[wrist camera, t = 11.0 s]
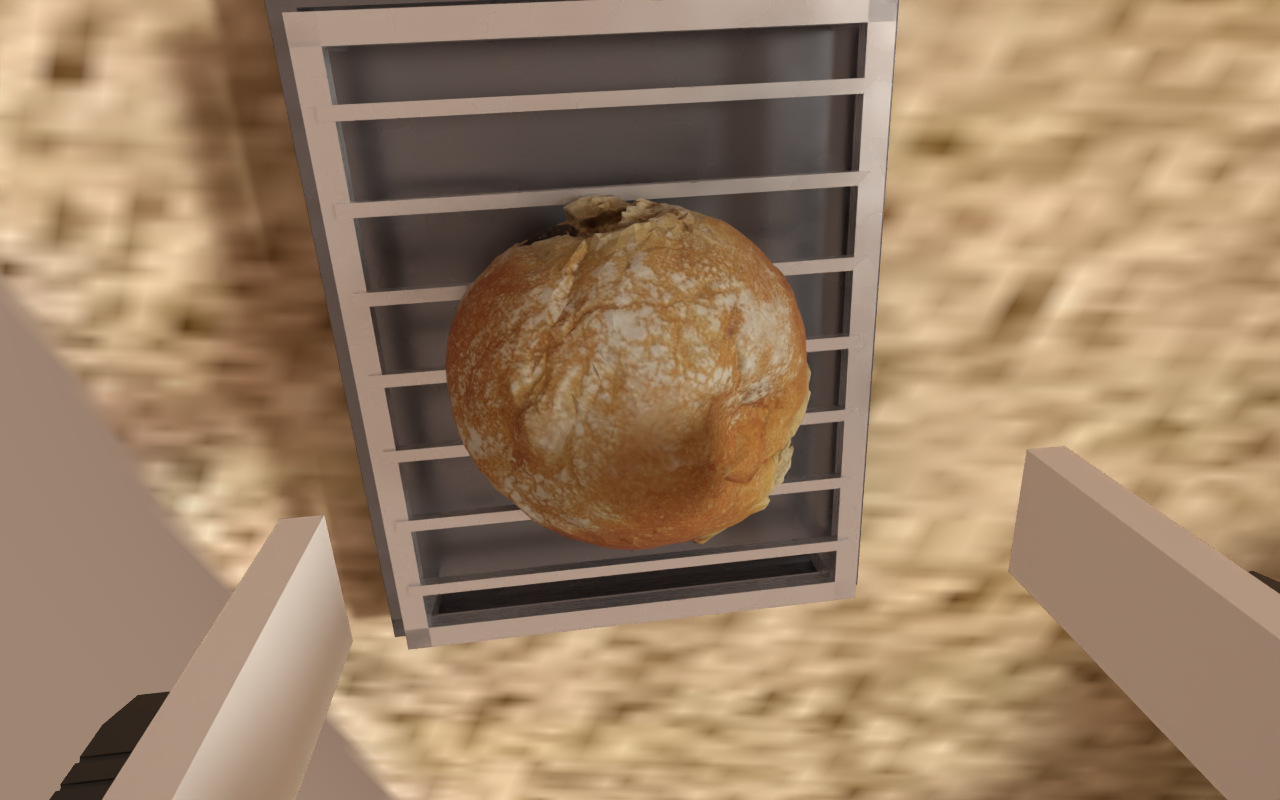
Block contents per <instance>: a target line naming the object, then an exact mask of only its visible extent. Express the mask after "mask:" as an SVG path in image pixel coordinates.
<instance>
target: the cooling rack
mask: <svg viewBox="0 0 1280 800" xmlns="http://www.w3.org/2000/svg"><path fill="white" fill-rule="evenodd" d="M264 1H265V6H266V10H267V15H268V20H269V25H270V30H271V35H272V40H273V45H274V49H275V54H276V59H277V64H278V69H279V74H280V79H281V84H282V88H283V93H284V98H285V103H286V108H287V113H288V118H289V123H290V127H291V132H292V137H293V142H294V147H295V152H296V157H297V162H298V166H299V171H300V176H301V181H302V186H303V191H304V196H305V200H306V205H307V210H308V215H309V220H310V225H311V230H312V235H313V239H314V244H315V249H316V254H317V259H318V264H319V269H320V274H321V278H322V283H323V288H324V293H325V298H326V303H327V308H328V313H329V317H330V322H331V327H332V332H333V337H334V342H335V347H336V351H337V356H338V361H339V366H340V371H341V376H342V381H343V386H344V390H345V395H346V400H347V405H348V410H349V415H350V420H351V425H352V429H353V434H354V439H355V444H356V449H357V454H358V459H359V464H360V468H361V473H362V478H363V483H364V488H365V493H366V498H367V502H368V507H369V512H370V517H371V522H372V527H373V532H374V537H375V541H376V546H377V551H378V556H379V561H380V566H381V571H382V576H383V580H384V585H385V590H386V595H387V600H388V605H389V610H390V615H391V619H392V624H393V629H394V634H395V637H400V636H406V639H407V644H408V649H417V648H426V647H434V646H443V645H452V644H460V643H469V642H478V641H486V640H495V639H504V638H512V637H521V636H530V635H538V634H547V633H555V632H564V631H573V630H581V629H590V628H599V627H607V626H616V625H625V624H633V623H642V622H651V621H659V620H668V619H677V618H685V617H694V616H703V615H711V614H720V613H729V612H737V611H746V610H755V609H763V608H772V607H781V606H789V605H798V604H807V603H815V602H824V601H833V600H841V599H850V598H855V592H856V584H857V578H858V564H859V550H860V536H861V523H862V509H863V495H864V481H865V467H866V453H867V439H868V425H869V411H870V397H871V383H872V369H873V356H874V342H875V328H876V314H877V300H878V286H879V272H880V258H881V244H882V230H883V216H884V202H885V188H886V175H887V161H888V147H889V133H890V119H891V105H892V91H893V77H894V63H895V49H896V35H897V21H898V8H899V0H264ZM591 195H597V196H606V195H614V196H619V197H621V198H623V199H624V200H625V201H626V202H627V203H630V204H632V203H633V202H635V200H636V199H637V198H642V199H645V200H649V201H652V202H655V203H658V204H659V203H663V204H664V203H666V204H668V205H677V206H681V207H683V208H685V209H687V210H690V211H696V212H698V213H701V214H703V215H706V216H710V217H713V218H717V219H720V220H722V221H724V222H726V223H728V224H729V225H731V226H732V227H734V228H735V229H737V230H738V231H739V232H741V233H742V234H743V235H744V236H746V237H747V238H748V239H749V240H751V241H752V242H753V243H754V244H755V245H756V246H757V247H759V248H760V250H761V251H762V252H763V253H764V254H765V255H766V256H767V258H768V259H769V260H770V261H771V262H772V264H773V265H774V266H776V267H777V268H778V269H779V270H780V271H781V272H782V273H783V274H784V276H785V278H786V280H787V282H788V283H789V285H790V287H791V289H792V291H793V292H794V296H795V300H796V303H797V306H798V309H799V312H800V314H801V317H802V320H803V323H804V326H805V333H806V352H807V363H808V366H809V369H810V371H811V377H810V381H809V391H810V392H811V394H810V398H809V401H808V405H807V409H806V412H805V415H804V417H803V420H802V422H801V424H800V426H799V428H798V430H797V431H796V433H795V435H794V436H793V437H792V438H791V443H790V445H791V444H792V446H793V448H794V449H793V454H792V457H791V466H790V469H789V470H788V471H787V473H786V475H785V476H784V481H783V482H782V483H781V484H780V485H779V486H778V487H777V488H776V489H775V490H774V491H773V492H771V493H770V494H769V496H768V497H769V499H770V502H769V504H768V505H767V507H766V508H765V509H763V510H761V511H758V512H756V513H753V514H751V515H749V516H748V517H747V518H745V519H744V520H743V521H741V522H740V523H737V524H735V525H733V526H731V527H728V528H726V529H725V530H723V531H722V532H720V533H718V534H717V535H715V536H713V537H712V538H710V539H709V540H708V541H706V542H705V543H704V544H701V543H694V542H692V541H687V542H684V543H681V542H679V543H674V544H669V545H664V546H660V547H656V548H652V549H640V550H634V551H633V552H631V550H619V549H611V548H605V547H601V546H597V545H594V544H590V543H586V542H582V541H578V540H575V539H570V538H566V537H564V536H562V535H560V534H559V533H557V532H555V531H552V530H549V529H547V528H544V527H543V526H541V525H539V524H537V523H536V522H534V521H532V520H531V519H530V518H529V517H528V516H527V515H526V514H525V513H524V512H523V511H522V510H521V509H520V508H519V507H517V506H516V505H515V504H514V503H513V502H512V501H511V500H509V499H508V498H507V497H506V496H504V495H503V494H501V493H500V492H498V491H497V490H496V489H495V488H494V487H493V485H492V484H491V482H490V481H489V480H488V479H487V477H486V476H485V475H484V474H482V473H481V472H480V471H479V469H478V468H477V466H476V464H475V463H474V461H473V460H472V458H471V457H470V455H469V453H468V451H467V450H466V448H465V446H464V444H463V442H462V440H461V438H460V436H459V434H458V431H457V427H456V424H455V421H454V418H453V414H452V408H451V402H450V396H449V391H448V386H447V380H446V367H445V363H446V350H447V343H448V336H449V331H450V326H451V324H452V322H453V319H454V316H455V313H456V311H457V308H458V305H459V303H460V301H461V299H462V297H463V295H464V293H465V292H466V291H467V290H468V288H469V287H470V286H471V285H472V284H473V282H474V281H475V280H476V279H477V278H478V277H479V276H480V275H481V274H482V273H483V271H484V270H485V269H486V268H487V267H488V266H489V265H490V264H491V262H492V261H493V260H494V258H495V257H497V256H498V255H501V254H503V253H504V252H505V251H506V250H508V249H509V248H511V247H512V246H514V245H515V244H516V243H520V244H521V243H522V242H524V241H526V240H528V239H529V238H530V237H531V236H533V235H535V234H537V233H538V232H540V231H543V230H545V229H547V228H549V227H551V226H553V225H557V224H560V223H562V222H565V221H566V220H567V217H566V215H565V212H564V209H563V207H564V206H566V205H568V204H570V203H572V202H574V201H575V200H577V199H579V198H581V197H586V196H591Z"/></svg>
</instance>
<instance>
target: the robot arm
mask: <svg viewBox="0 0 1280 800" xmlns="http://www.w3.org/2000/svg"><path fill="white" fill-rule="evenodd" d="M1008 571H1009V572H1010V574H1011V575H1012V576H1013V577H1014V578H1015V579H1016V580H1017V581H1018V582H1019V583H1020V584H1021V585H1022V586H1023V587H1024V588H1025V589H1026V590H1027V591H1028V592H1029V593H1030V594H1031V595H1032V597H1033V598H1034V599H1035V600H1036V601H1037V602H1038V603H1039V604H1040V605H1041V606H1042V607H1043V608H1044V609H1045V610H1046V611H1047V612H1048V613H1049V614H1050V615H1051V616H1052V617H1053V618H1054V620H1055V621H1056V622H1057V623H1058V624H1059V625H1060V626H1061V627H1062V628H1063V629H1064V630H1065V631H1066V632H1067V633H1068V634H1069V635H1070V636H1071V637H1072V638H1073V639H1074V640H1075V641H1076V643H1077V644H1078V645H1079V646H1080V647H1081V648H1082V649H1083V650H1084V651H1085V652H1086V653H1087V654H1088V655H1089V656H1090V657H1091V658H1092V659H1093V660H1094V661H1095V662H1096V663H1097V664H1098V666H1099V667H1100V668H1101V669H1102V670H1103V671H1104V672H1105V673H1106V674H1107V675H1108V676H1109V677H1110V678H1111V679H1112V680H1113V681H1114V682H1115V683H1116V684H1117V685H1118V686H1119V687H1120V689H1121V690H1122V691H1123V692H1124V693H1125V694H1126V695H1127V696H1128V697H1129V698H1130V699H1131V700H1132V701H1133V702H1134V703H1135V704H1136V705H1137V706H1138V707H1139V708H1140V709H1141V710H1142V712H1143V713H1144V714H1145V715H1146V716H1147V717H1148V718H1149V719H1150V720H1151V721H1152V722H1153V723H1154V724H1155V725H1156V726H1157V727H1158V728H1159V729H1160V730H1161V731H1162V732H1163V733H1164V735H1165V736H1166V737H1167V738H1168V739H1169V740H1170V741H1171V742H1172V743H1173V744H1174V745H1175V746H1176V747H1177V748H1178V749H1179V750H1180V751H1181V752H1182V753H1183V754H1184V755H1185V757H1186V758H1187V759H1188V760H1189V761H1190V762H1191V763H1192V764H1193V765H1194V766H1195V767H1196V768H1197V769H1198V770H1199V771H1200V772H1201V773H1202V774H1203V775H1204V776H1205V777H1206V778H1207V780H1208V781H1209V782H1210V783H1211V784H1212V785H1213V786H1214V787H1215V788H1216V789H1217V790H1218V791H1219V792H1220V793H1221V794H1222V795H1223V796H1224V797H1225V798H1226V799H1227V800H1280V583H1279V582H1277V581H1275V580H1272V579H1270V578H1268V577H1265V576H1263V575H1261V574H1259V573H1256V572H1254V571H1250V572H1247V571H1246V570H1244V569H1243V568H1241V567H1240V566H1238V565H1237V564H1235V563H1234V562H1232V561H1231V560H1230V559H1228V558H1227V557H1225V556H1224V555H1222V554H1221V553H1219V552H1218V551H1216V550H1215V549H1214V548H1212V547H1211V546H1209V545H1208V544H1206V543H1205V542H1203V541H1202V540H1200V539H1199V538H1198V537H1196V536H1195V535H1193V534H1192V533H1190V532H1189V531H1187V530H1186V529H1184V528H1183V527H1182V526H1180V525H1179V524H1177V523H1176V522H1174V521H1173V520H1171V519H1170V518H1168V517H1167V516H1166V515H1164V514H1163V513H1161V512H1160V511H1158V510H1157V509H1155V508H1154V507H1152V506H1151V505H1150V504H1148V503H1147V502H1145V501H1144V500H1142V499H1141V498H1139V497H1138V496H1136V495H1135V494H1134V493H1132V492H1131V491H1129V490H1128V489H1126V488H1125V487H1123V486H1122V485H1121V484H1119V483H1118V482H1116V481H1115V480H1113V479H1112V478H1110V477H1109V476H1107V475H1106V474H1105V473H1103V472H1102V471H1100V470H1099V469H1097V468H1096V467H1094V466H1093V465H1091V464H1090V463H1089V462H1087V461H1086V460H1084V459H1083V458H1081V457H1080V456H1078V455H1077V454H1075V453H1074V452H1073V451H1071V450H1070V449H1068V448H1067V447H1065V446H1061V447H1050V448H1039V449H1029V450H1027V452H1026V458H1025V465H1024V472H1023V478H1022V485H1021V491H1020V498H1019V504H1018V511H1017V517H1016V524H1015V530H1014V537H1013V543H1012V550H1011V557H1010V563H1009V570H1008ZM352 642H353V639H352V634H351V630H350V626H349V621H348V617H347V612H346V608H345V604H344V599H343V595H342V591H341V586H340V582H339V577H338V573H337V569H336V564H335V560H334V555H333V551H332V547H331V542H330V538H329V533H328V529H327V525H326V520H325V516H324V515H318V516H307V517H296V518H286V519H280V520H279V521H278V523H277V524H276V526H275V528H274V529H273V531H272V532H271V534H270V535H269V537H268V539H267V540H266V542H265V543H264V545H263V547H262V548H261V550H260V551H259V553H258V554H257V556H256V558H255V559H254V561H253V562H252V564H251V565H250V567H249V569H248V570H247V572H246V573H245V575H244V576H243V578H242V580H241V581H240V583H239V584H238V586H237V588H236V589H235V591H234V592H233V594H232V595H231V597H230V599H229V601H228V602H227V603H226V605H225V607H224V608H223V610H222V611H221V613H220V614H219V616H218V618H217V619H216V621H215V622H214V624H213V625H212V627H211V629H210V630H209V632H208V633H207V635H206V637H205V638H204V640H203V641H202V643H201V645H200V646H199V648H198V649H197V651H196V652H195V654H194V655H193V657H192V659H191V660H190V662H189V663H188V665H187V666H186V668H185V670H184V671H183V673H182V674H181V676H180V678H179V679H178V681H177V682H176V684H175V686H174V687H173V688H172V690H171V692H162V693H154V694H153V693H152V694H144V695H137V696H136V697H135V698H134V699H133V700H132V701H130V702H129V703H128V704H127V705H126V706H124V707H123V708H122V709H121V710H120V711H118V712H117V713H116V714H115V715H114V716H112V718H110V719H109V720H108V721H107V722H105V723H104V724H103V725H102V726H101V728H100V729H99V731H98V732H97V733H96V735H95V736H94V738H93V739H92V741H91V742H90V744H89V745H88V746H87V748H86V749H85V750H84V752H83V753H82V755H81V756H80V762H79V763H76V764H75V765H74V766H73V767H72V769H71V770H70V772H69V773H68V774H67V776H66V777H65V779H64V780H63V781H62V783H61V789H60V791H56V792H55V793H54V794H53V796H52V797H51V799H50V800H296V797H297V794H298V792H299V789H300V786H301V783H302V781H303V778H304V775H305V772H306V769H307V767H308V764H309V761H310V758H311V756H312V753H313V750H314V747H315V744H316V741H317V739H318V736H319V733H320V730H321V728H322V725H323V722H324V719H325V717H326V714H327V711H328V708H329V706H330V703H331V700H332V697H333V695H334V692H335V689H336V686H337V683H338V681H339V678H340V675H341V672H342V670H343V667H344V664H345V661H346V658H347V656H348V653H349V650H350V647H351V645H352Z"/></svg>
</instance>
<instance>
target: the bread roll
mask: <svg viewBox="0 0 1280 800" xmlns="http://www.w3.org/2000/svg"><path fill="white" fill-rule="evenodd" d="M563 209H564V212H565V215H566V217H567V220H566V221H565V222H562V223H560V224H557V225H553V226H551V227H549V228H547V229H545V230H543V231H540V232H538V233H537V234H535V235H533V236H531V237H530V238H529V239H528V240H526V241H524V242H522V243H521V244H520V243H516V244H515V245H514V246H512V247H511V248H509V249H508V250H506V251H505V252H504V253H503V254H501V255H498V256H497V257H495V258H494V260H493V261H492V262H491V264H490V265H489V266H488V267H487V268H486V269H485V270H484V271H483V273H482V274H481V275H480V276H479V277H478V278H477V279H476V280H475V281H474V282H473V284H472V285H471V286H470V287H469V288H468V290H467V291H466V292H465V293H464V295H463V297H462V299H461V301H460V303H459V305H458V308H457V311H456V313H455V316H454V319H453V322H452V324H451V326H450V331H449V336H448V343H447V350H446V363H445V367H446V380H447V386H448V391H449V396H450V402H451V408H452V414H453V418H454V421H455V424H456V427H457V431H458V434H459V436H460V438H461V440H462V442H463V444H464V446H465V448H466V450H467V451H468V453H469V455H470V457H471V458H472V460H473V461H474V463H475V464H476V466H477V468H478V469H479V471H480V472H481V473H482V474H484V475H485V476H486V477H487V479H488V480H489V481H490V482H491V484H492V485H493V487H494V488H495V489H496V490H497V491H498V492H500V493H501V494H503V495H504V496H506V497H507V498H508V499H509V500H511V501H512V502H513V503H514V504H515V505H516V506H517V507H519V508H520V509H521V510H522V511H523V512H524V513H525V514H526V515H527V516H528V517H529V518H530V519H531V520H532V521H534V522H536V523H537V524H539V525H541V526H543V527H544V528H547V529H549V530H552V531H555V532H557V533H559V534H560V535H562V536H564V537H566V538H570V539H575V540H578V541H582V542H586V543H590V544H594V545H597V546H601V547H605V548H611V549H619V550H631V552H633V551H634V550H640V549H652V548H656V547H660V546H664V545H669V544H674V543H679V542H681V543H684V542H687V541H692V542H694V543H701V544H704V543H705V542H706V541H708V540H709V539H710V538H712V537H713V536H715V535H717V534H718V533H720V532H722V531H723V530H725V529H726V528H728V527H731V526H733V525H735V524H737V523H740V522H741V521H743V520H744V519H745V518H747V517H748V516H749V515H751V514H753V513H756V512H758V511H761V510H763V509H765V508H766V507H767V505H768V504H769V502H770V499H769V497H768V496H769V494H770V493H771V492H773V491H774V490H775V489H776V488H777V487H778V486H779V485H780V484H781V483H782V482H783V481H784V476H785V475H786V473H787V471H788V470H789V469H790V466H791V457H792V454H793V449H794V448H793V446H792V444H791V445H790V443H791V438H792V437H793V436H794V435H795V433H796V431H797V430H798V428H799V426H800V424H801V422H802V420H803V417H804V415H805V412H806V409H807V405H808V401H809V398H810V394H811V392H810V391H809V381H810V377H811V371H810V369H809V366H808V363H807V352H806V333H805V326H804V323H803V320H802V317H801V314H800V312H799V309H798V306H797V303H796V300H795V296H794V292H793V291H792V289H791V287H790V285H789V283H788V282H787V280H786V278H785V276H784V274H783V273H782V272H781V271H780V270H779V269H778V268H777V267H776V266H774V265H773V264H772V262H771V261H770V260H769V259H768V258H767V256H766V255H765V254H764V253H763V252H762V251H761V250H760V248H759V247H757V246H756V245H755V244H754V243H753V242H752V241H751V240H749V239H748V238H747V237H746V236H744V235H743V234H742V233H741V232H739V231H738V230H737V229H735V228H734V227H732V226H731V225H729V224H728V223H726V222H724V221H722V220H720V219H717V218H713V217H710V216H706V215H703V214H701V213H698V212H696V211H690V210H687V209H685V208H683V207H681V206H677V205H668V204H666V203H664V204H663V203H659V204H658V203H655V202H652V201H649V200H645V199H642V198H637V199H636V200H635V202H633V203H632V204H630V203H627V202H626V201H625V200H624V199H623V198H621V197H619V196H614V195H606V196H597V195H591V196H586V197H581V198H579V199H577V200H575V201H574V202H572V203H570V204H568V205H566V206H564V207H563Z"/></svg>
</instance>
